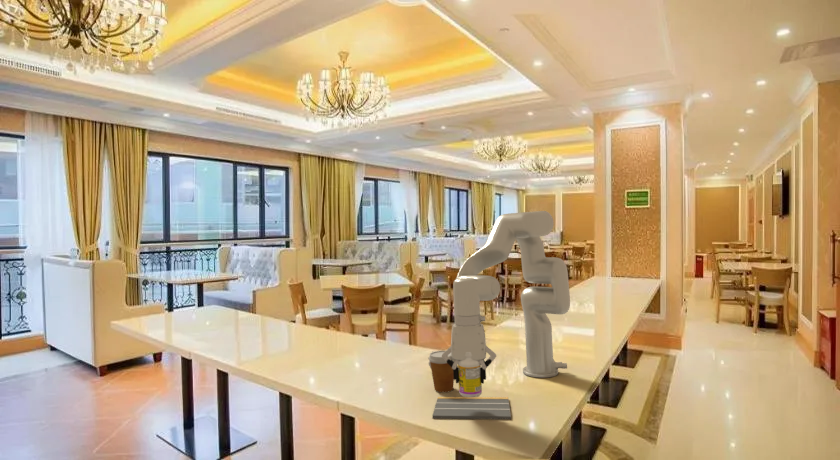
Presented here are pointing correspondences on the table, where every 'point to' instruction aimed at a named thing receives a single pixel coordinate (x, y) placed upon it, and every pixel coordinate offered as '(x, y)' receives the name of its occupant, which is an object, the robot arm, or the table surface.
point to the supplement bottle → (469, 377)
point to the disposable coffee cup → (441, 372)
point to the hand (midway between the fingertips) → (469, 381)
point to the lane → (472, 408)
